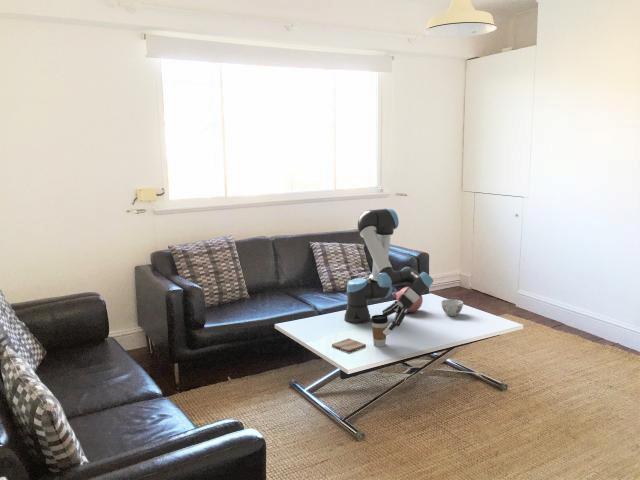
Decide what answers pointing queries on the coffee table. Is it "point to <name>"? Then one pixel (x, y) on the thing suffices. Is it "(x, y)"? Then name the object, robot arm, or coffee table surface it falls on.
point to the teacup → (452, 307)
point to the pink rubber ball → (416, 304)
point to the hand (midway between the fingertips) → (380, 329)
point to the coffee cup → (379, 329)
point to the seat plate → (349, 345)
